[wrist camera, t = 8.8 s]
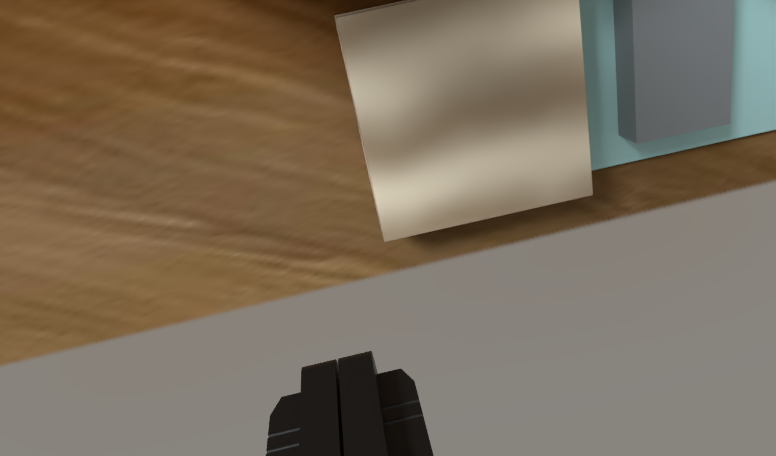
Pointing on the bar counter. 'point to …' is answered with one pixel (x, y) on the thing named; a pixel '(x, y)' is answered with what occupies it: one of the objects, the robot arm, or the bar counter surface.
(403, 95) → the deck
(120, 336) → the bar counter surface
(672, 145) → the mat
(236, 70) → the bar counter surface
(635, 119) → the grey rectangular block
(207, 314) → the bar counter surface
